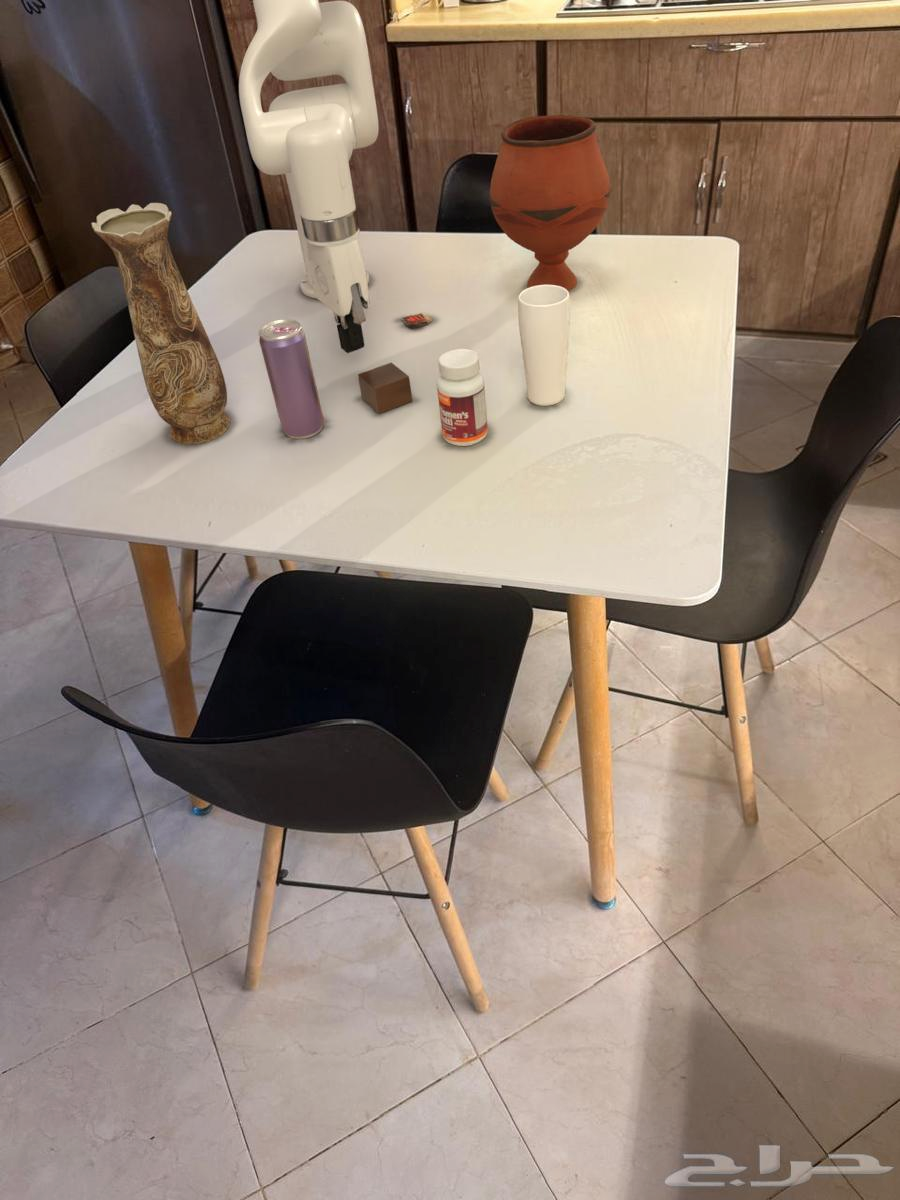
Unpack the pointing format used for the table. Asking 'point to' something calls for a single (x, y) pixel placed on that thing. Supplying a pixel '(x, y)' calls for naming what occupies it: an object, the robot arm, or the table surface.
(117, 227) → the vase
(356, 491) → the table surface
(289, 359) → the beverage can
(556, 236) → the goblet
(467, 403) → the pill bottle
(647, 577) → the table surface
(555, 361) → the drinking glass
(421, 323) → the painted wall fragment
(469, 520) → the table surface
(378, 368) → the walnut block
